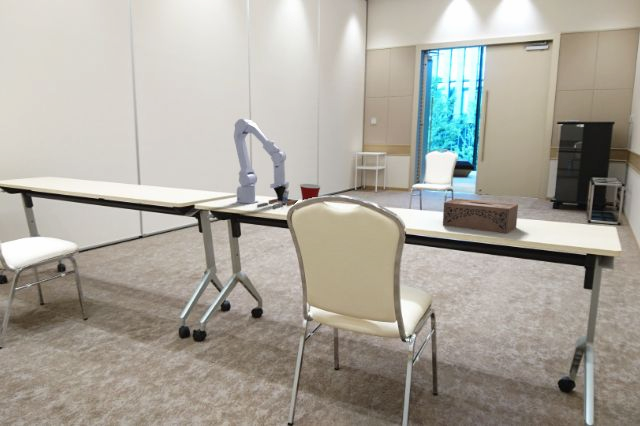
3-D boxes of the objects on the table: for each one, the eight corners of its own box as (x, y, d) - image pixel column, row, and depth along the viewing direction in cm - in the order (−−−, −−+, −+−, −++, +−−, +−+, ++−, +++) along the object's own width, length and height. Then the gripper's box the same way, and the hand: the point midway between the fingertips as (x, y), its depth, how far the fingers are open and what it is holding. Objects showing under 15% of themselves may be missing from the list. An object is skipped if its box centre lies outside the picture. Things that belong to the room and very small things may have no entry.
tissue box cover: (442, 226, 192) (444, 202, 191) (454, 220, 204) (455, 198, 202) (507, 234, 178) (509, 208, 176) (516, 228, 189) (518, 204, 188)
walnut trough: (268, 203, 245) (268, 200, 245) (279, 201, 254) (279, 198, 254) (288, 205, 239) (288, 202, 239) (298, 203, 248) (298, 199, 248)
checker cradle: (257, 206, 234) (257, 204, 234) (266, 204, 241) (266, 202, 241) (274, 208, 229) (274, 205, 229) (283, 206, 236) (283, 203, 236)
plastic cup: (315, 210, 224) (316, 186, 222) (295, 209, 229) (295, 185, 226) (324, 207, 234) (324, 184, 232) (304, 206, 238) (305, 183, 236)
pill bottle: (274, 201, 245) (277, 184, 245) (283, 203, 248) (286, 186, 248) (280, 202, 240) (283, 183, 241) (288, 204, 243) (291, 186, 244)
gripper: (278, 175, 231) (279, 202, 233) (293, 173, 244) (294, 199, 246) (266, 175, 234) (267, 202, 237) (282, 173, 247) (282, 198, 249)
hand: (280, 200), depth 241 cm, fingers closed, pressing on pill bottle
